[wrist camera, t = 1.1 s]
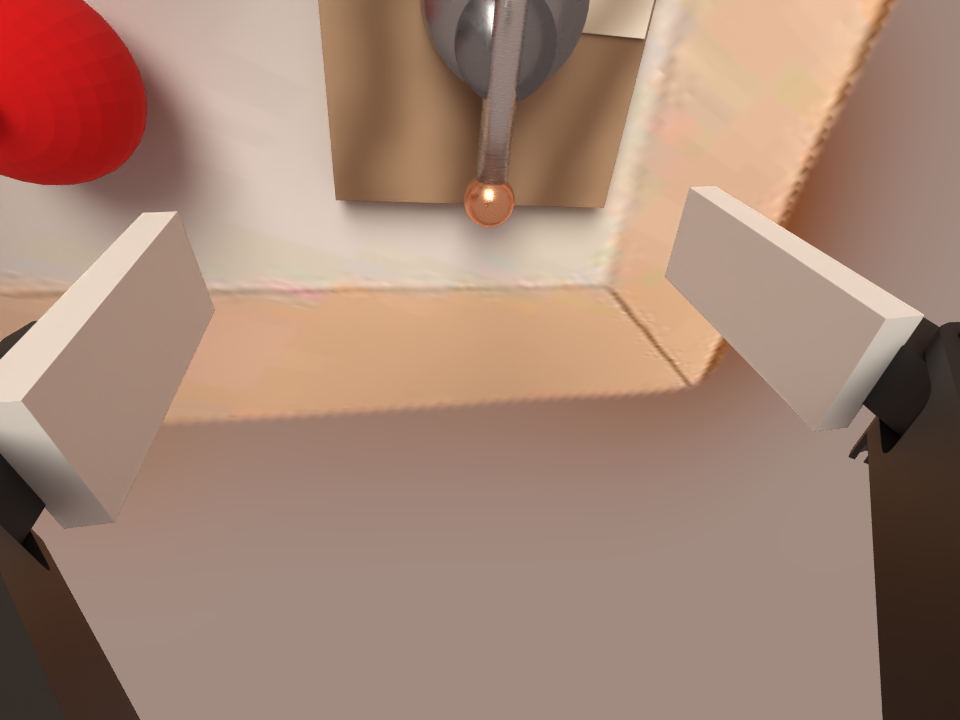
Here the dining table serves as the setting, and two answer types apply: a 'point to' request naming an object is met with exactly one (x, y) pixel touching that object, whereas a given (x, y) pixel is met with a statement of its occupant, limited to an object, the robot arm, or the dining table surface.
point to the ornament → (65, 93)
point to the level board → (471, 109)
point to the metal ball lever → (501, 75)
